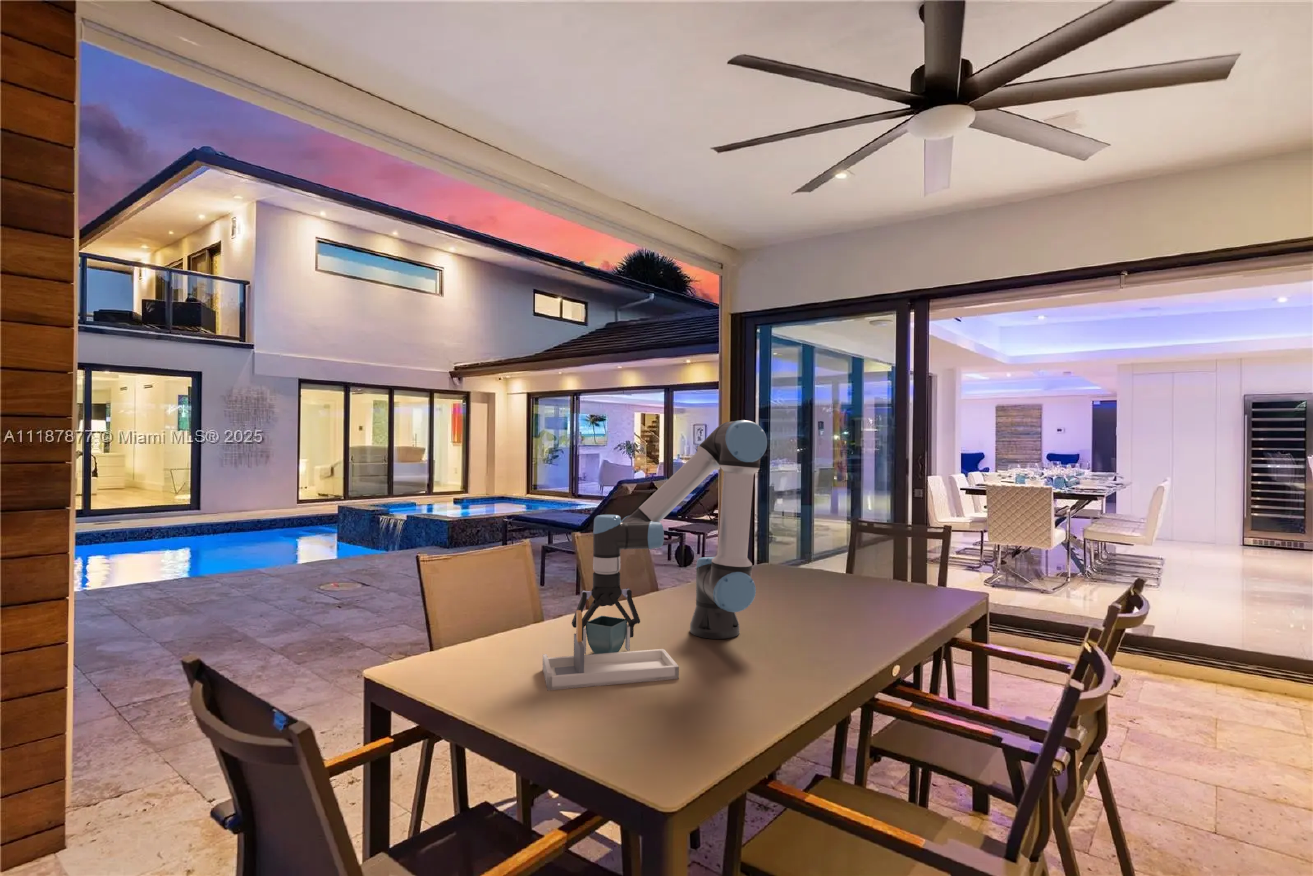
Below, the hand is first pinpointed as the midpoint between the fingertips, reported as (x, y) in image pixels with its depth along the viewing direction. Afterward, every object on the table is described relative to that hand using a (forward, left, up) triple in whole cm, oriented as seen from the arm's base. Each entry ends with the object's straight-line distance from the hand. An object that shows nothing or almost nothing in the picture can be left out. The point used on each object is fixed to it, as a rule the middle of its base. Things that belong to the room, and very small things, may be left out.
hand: (605, 650), depth 177 cm
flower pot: (0, 0, -1) cm, 1 cm away
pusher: (+12, +16, 0) cm, 20 cm away
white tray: (+2, +16, -1) cm, 16 cm away
